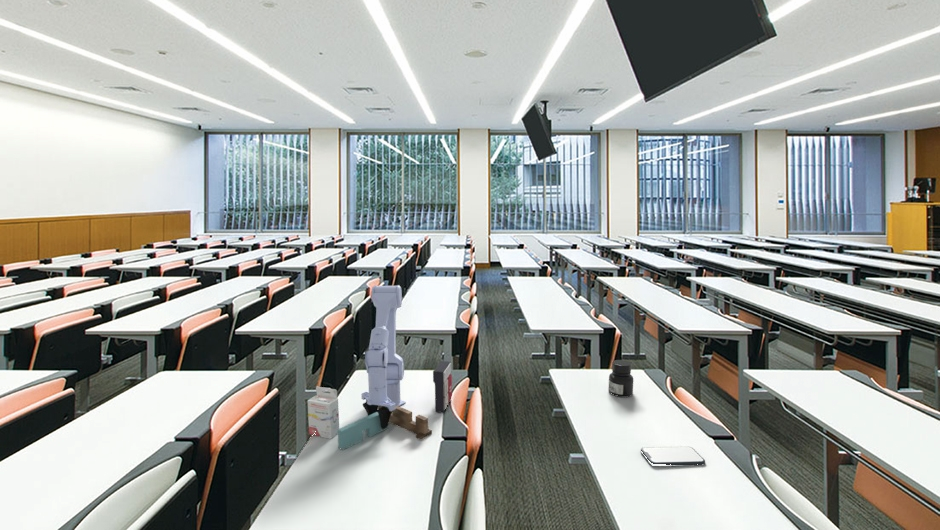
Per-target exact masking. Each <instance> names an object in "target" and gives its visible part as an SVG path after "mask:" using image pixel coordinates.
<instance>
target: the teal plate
mask: <svg viewBox="0 0 940 530" xmlns="http://www.w3.org/2000/svg"><path fill="white" fill-rule="evenodd" d="M387 429H389V426H388V427H387V428H385V429H382V428H381V423H380V417H379V414H378V412H376V413H373V414H371V415H369V416H368V415H366V416H365V417H363V418H359V419H358V420H356V421H354V422H351V423H349V424H347V425H344V426H342V427H339V429H338V434H337V439H338V440H337V442H338V449H340V448H341V449H344V450H346V449H348V448H350V447H352V446H354V445H356V444H359V443H360V442H362V441H364V434H363V433H364V431H365V435H366V436H368V437H369V438H370V437H373V436H375V435H376V434H379V433H380V432H382V431H385V430H387ZM353 444H354V445H353ZM351 445H352V446H351ZM349 446H350V447H349ZM347 447H348V448H347ZM345 448H346V449H345ZM341 449H340V450H341Z"/></svg>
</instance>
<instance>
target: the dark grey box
mask: <svg viewBox="0 0 940 530" xmlns="http://www.w3.org/2000/svg"><path fill="white" fill-rule="evenodd" d="M452 375H453V374H452V363H451V361H444V360H441V361H439V363H438V365H436V367H435V368H434V370H433V371H432V376H433V377H432V380H433V381H432V382H433V383H434V397H435V398H434V406H435V407H434V408H435V409H434V410H435V412H436V413H444V412H445V411H444V410H445V409H446V407H447V405H448V406H449V404H450V403H449V401H450V399H451V396H452V397H453V394H452V393H453V391H452V390H453V389H452V388H453V386H452V383H453V381H452V380H453V379H452V378H453V377H452ZM448 403H449V404H448ZM447 408H448V407H447ZM446 410H447V409H446Z"/></svg>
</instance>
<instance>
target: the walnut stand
mask: <svg viewBox="0 0 940 530" xmlns="http://www.w3.org/2000/svg"><path fill="white" fill-rule="evenodd" d="M380 408H382V406H379V405H378V409H380ZM388 424H392V425H395V426H397V427H399V428H401V429H403V430H406V431H408V432H411V433H412V434H415V435H416V436H415V437H416V439H417V440H420V441H422V440H423V439H425V438H427V437H429V436H431V435H432V434H433V430H432V429H430V428H429V418H428V417H426V416H424V415H421V414H418V415H416V416H415V421H414V420H413V411H412V410H409V409H406V408H403V407H401V406H396V409H395V410H393V412H392V414H391V416H390V419H389V423H388Z"/></svg>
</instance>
